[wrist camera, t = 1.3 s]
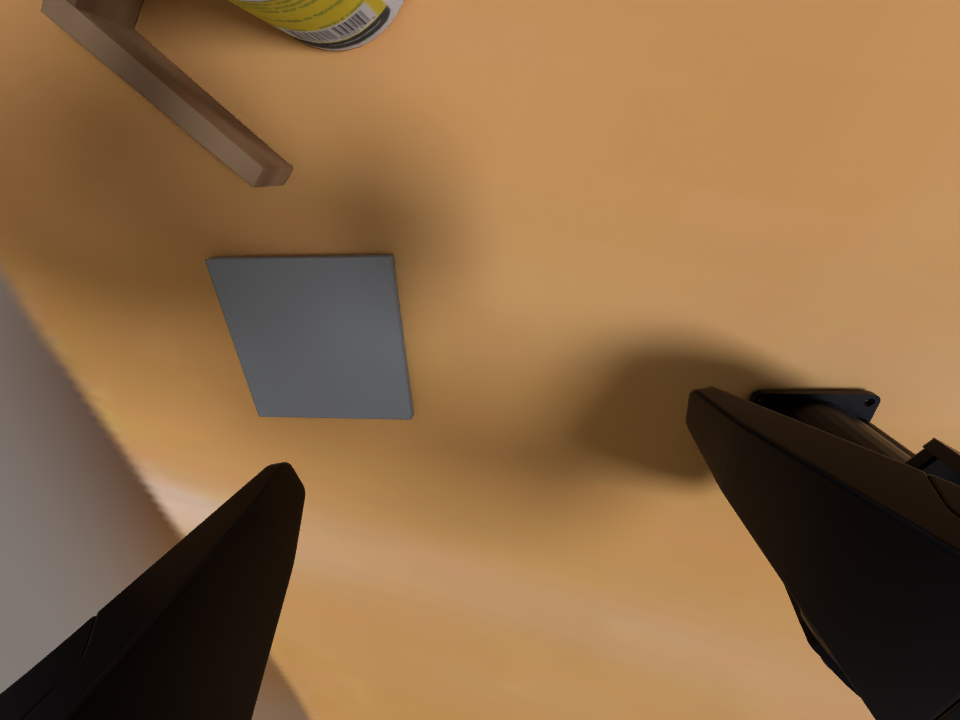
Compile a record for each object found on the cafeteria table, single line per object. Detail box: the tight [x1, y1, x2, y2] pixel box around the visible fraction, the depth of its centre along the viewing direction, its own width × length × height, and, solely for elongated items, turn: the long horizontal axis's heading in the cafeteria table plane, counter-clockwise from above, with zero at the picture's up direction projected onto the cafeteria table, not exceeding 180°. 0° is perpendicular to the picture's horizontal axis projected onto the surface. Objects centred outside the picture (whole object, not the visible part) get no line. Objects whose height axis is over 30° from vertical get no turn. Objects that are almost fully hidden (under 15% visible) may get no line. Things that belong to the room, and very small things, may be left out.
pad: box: [205, 254, 414, 420], centre depth 22 cm, size 10×10×1 cm
